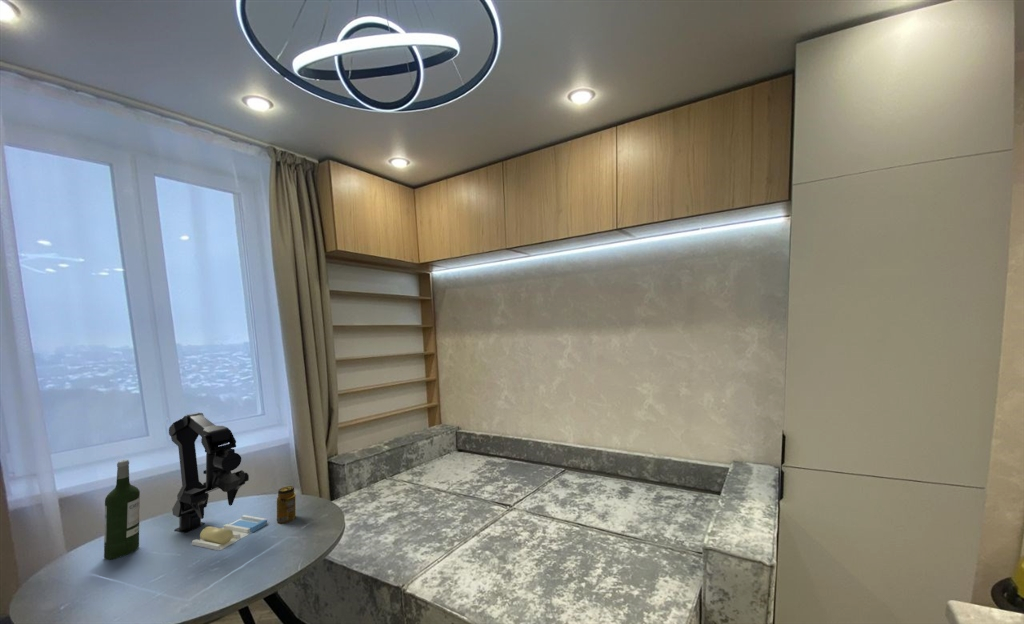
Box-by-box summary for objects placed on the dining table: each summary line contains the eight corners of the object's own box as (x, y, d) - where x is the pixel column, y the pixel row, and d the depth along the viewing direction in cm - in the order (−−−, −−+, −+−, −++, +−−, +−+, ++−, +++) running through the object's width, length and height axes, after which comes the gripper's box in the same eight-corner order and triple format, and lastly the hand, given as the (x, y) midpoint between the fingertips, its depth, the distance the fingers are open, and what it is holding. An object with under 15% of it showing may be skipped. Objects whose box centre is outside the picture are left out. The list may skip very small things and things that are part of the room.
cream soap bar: (199, 542, 124) (199, 530, 125) (212, 535, 128) (212, 524, 128) (220, 546, 121) (220, 534, 122) (233, 539, 125) (232, 527, 125)
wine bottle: (139, 552, 120) (140, 460, 122) (103, 563, 115) (104, 467, 116) (138, 542, 126) (139, 455, 127) (104, 553, 120) (106, 461, 121)
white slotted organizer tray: (190, 545, 123) (190, 539, 123) (242, 518, 140) (242, 513, 140) (219, 551, 119) (219, 545, 119) (269, 523, 136) (269, 518, 136)
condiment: (295, 514, 143) (295, 483, 143) (299, 522, 136) (298, 490, 137) (273, 520, 138) (273, 488, 138) (276, 530, 131) (275, 496, 132)
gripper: (203, 479, 115) (202, 529, 114) (260, 458, 132) (260, 501, 132) (179, 475, 118) (178, 524, 117) (237, 455, 136) (237, 498, 135)
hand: (216, 511), depth 125 cm, fingers open, 9 cm apart
